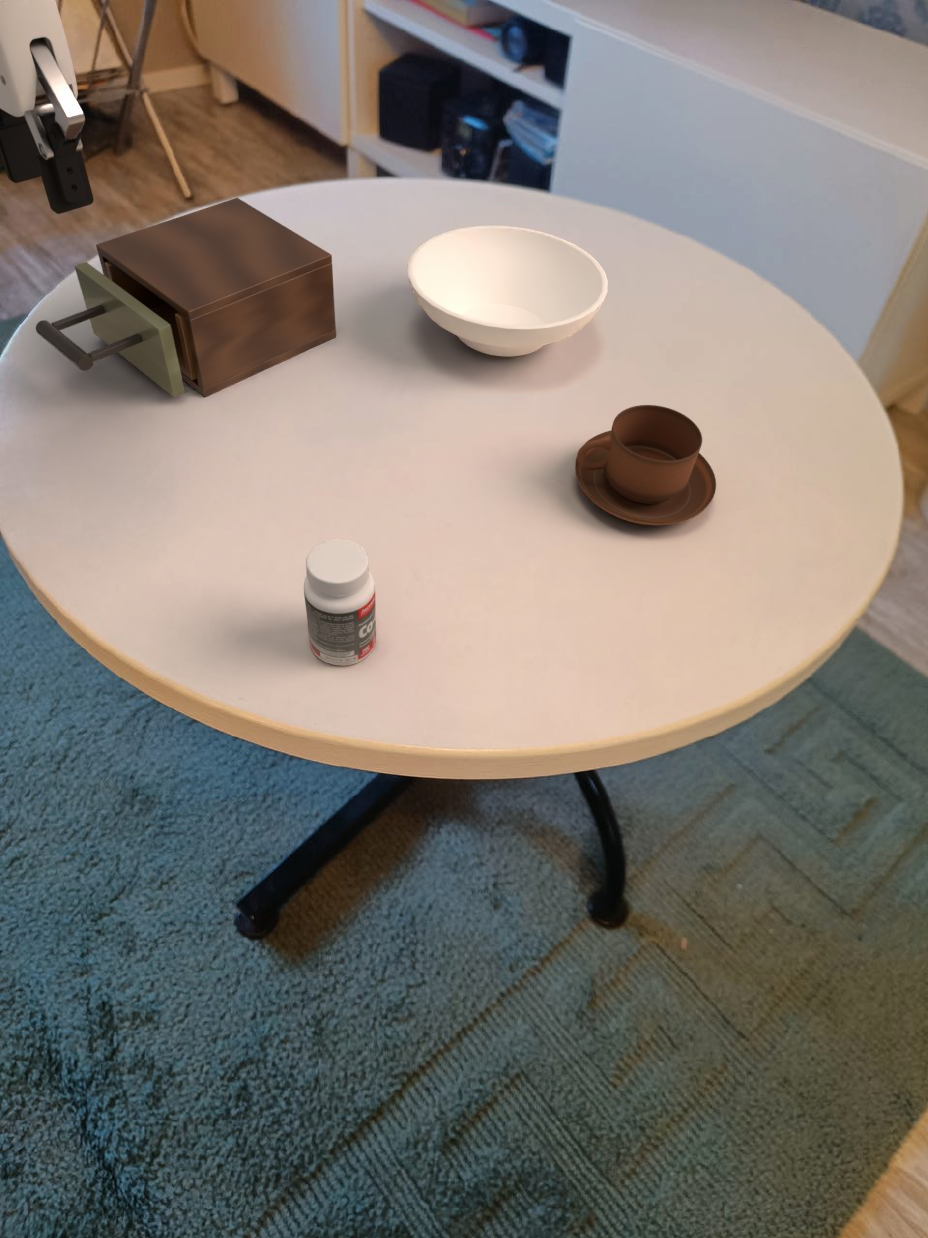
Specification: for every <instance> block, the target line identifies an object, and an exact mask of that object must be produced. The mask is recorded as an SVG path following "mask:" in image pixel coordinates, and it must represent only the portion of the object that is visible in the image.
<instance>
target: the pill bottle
mask: <svg viewBox="0 0 928 1238" xmlns="http://www.w3.org/2000/svg"><path fill="white" fill-rule="evenodd" d="M305 569H306V571H305V572H306V575H305V578H304V581H303V597H304V605H305V613H306V622H307V632H308V640H309V644H310V645H309V646H310V648H311V650H312V653H313V654H314V655H315V656H316V657H317V658H318V659H319V660H321V661H323V662H324V663H327V664H331V665H333V666H344V667H345V666H346V667H347V666H352V665H355V664H358V663H360V662H362V661H363V660H365V659H366V658H367V657H369V655H370V654H371V653H372V652H373V650H374V648H375V645H376V641H377V615H376V614H377V613H376V612H377V611H376V606H377V604H376V582H375V578H374V576H373V574H372V572H371V571H370V565H369V556H368V553H367V552H366V550H365V549H364V548H363V547H362V545H360V544H358V543H357V542H355V541H352V540H350V539H345V538H330V539H326V540H323V541H321V542H319V543H317V544H316V545H313V547H312V548H311V549H310V550H309V552H308V553H307V555H306V559H305Z"/></svg>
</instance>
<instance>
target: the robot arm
mask: <svg viewBox="0 0 928 1238" xmlns="http://www.w3.org/2000/svg"><path fill="white" fill-rule="evenodd" d="M40 95H46V96H47V98H48V100H49V102H46V103H42V104H38V105H36V99H37V98H36V97H37V96H40ZM78 96H79V90H78V83H77V77H76V73H75V68H74V63H73V59H72V56H71V51H70V47H69V44H68V39H67V35H66V32H65V29H64V26H63V22H62V19H61V15H60V12H59V7H58V4H57V1H56V0H0V157H1V161H2V164H3V167H4V170H5V173H6V176H7V178H8V179H9V181H10V182H13V184H19V183H22V182H26V181H29V180H32V179H33V180H34V179H36V178H41V181H42V184H43V187H44V191H45V194H46V197H47V200H48V204H49V208H50V210H51V211H53V212H54V213H55V214H57V215H61V214H64V213H68V212H71V211H74V210H78V209H80V208H81V209H82V208H85V207H87V206H90V205H92V204H93V203H94V199H95V198H94V195H93V190H92V187H91V184H90V179H89V176H88V171H87V168H86V163H85V160H84V155H83V153H82V151H83V150H84V146H83V142H82V139H81V138H82V129H83V127H84V125H85V123H86V117H85V113H84V111H83V109H82V107H81V105H80V104H79V101H78ZM50 114H54V122H50V123H49V125H48V128H47V131H46V130H45V127H44V125H43V122H42V120H41V118H40V117H41V116H42V117H43V116H47V115H50Z"/></svg>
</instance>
